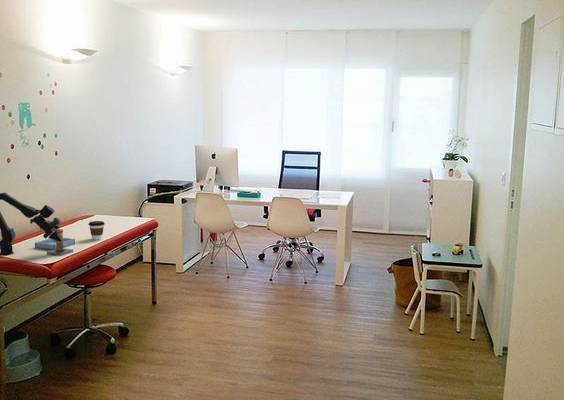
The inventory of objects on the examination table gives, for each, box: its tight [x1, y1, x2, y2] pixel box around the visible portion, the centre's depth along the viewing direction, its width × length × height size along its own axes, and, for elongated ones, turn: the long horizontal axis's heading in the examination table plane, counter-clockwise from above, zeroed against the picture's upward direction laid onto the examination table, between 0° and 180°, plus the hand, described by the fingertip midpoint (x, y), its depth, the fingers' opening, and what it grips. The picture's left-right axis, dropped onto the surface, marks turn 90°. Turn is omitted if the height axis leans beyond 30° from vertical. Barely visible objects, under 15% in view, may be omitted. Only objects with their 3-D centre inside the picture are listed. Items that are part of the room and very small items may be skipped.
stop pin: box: [55, 228, 64, 252], centre depth 346 cm, size 5×5×15 cm
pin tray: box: [34, 237, 76, 251], centre depth 365 cm, size 20×16×4 cm
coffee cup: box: [88, 220, 106, 241], centre depth 388 cm, size 11×11×12 cm
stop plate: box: [46, 247, 74, 257], centre depth 347 cm, size 11×11×2 cm
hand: (61, 240), depth 346 cm, fingers closed on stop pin, 4 cm apart
